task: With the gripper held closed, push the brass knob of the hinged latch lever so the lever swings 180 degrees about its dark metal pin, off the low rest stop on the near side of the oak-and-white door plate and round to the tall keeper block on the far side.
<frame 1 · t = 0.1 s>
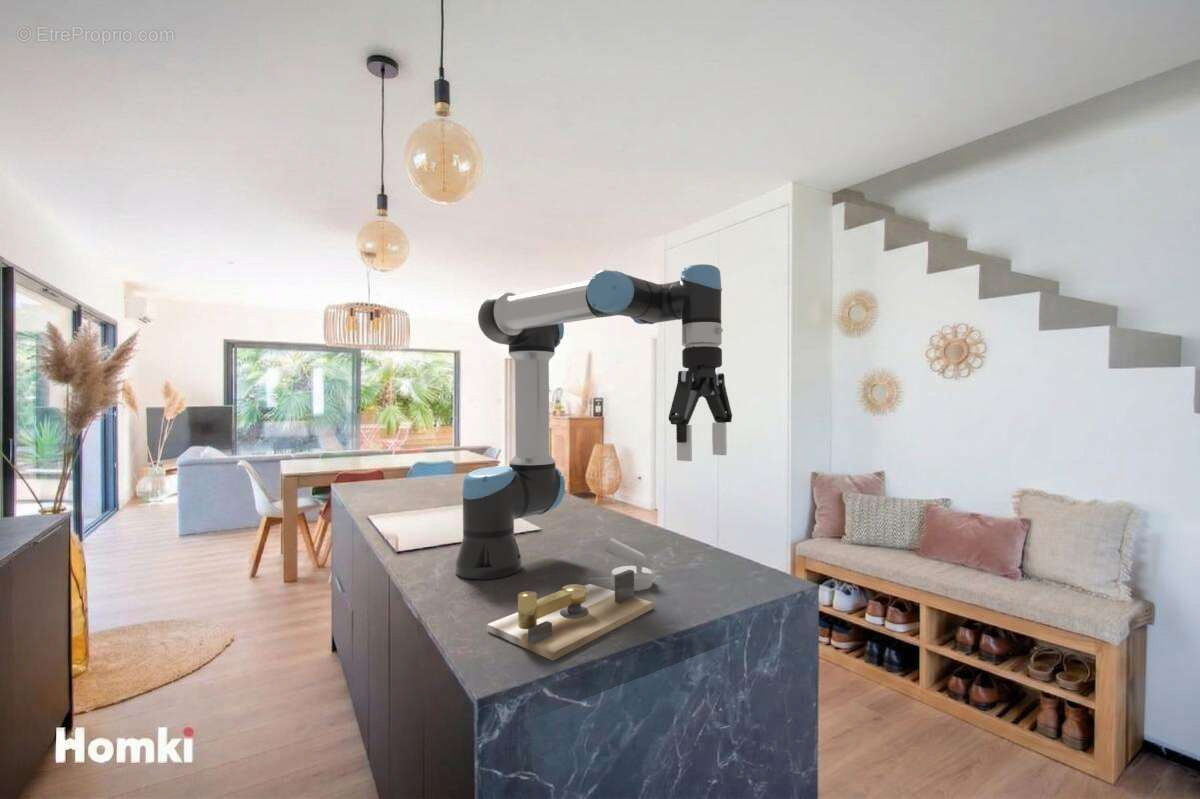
hand: (702, 457, 101), 28 cm above the table, fingers open, 13 cm apart
door plate: (574, 619, 94), on the table
latch lever: (553, 599, 90), point 5 cm above the table, hinge at 0.0°
wall hook: (628, 584, 112), on the table
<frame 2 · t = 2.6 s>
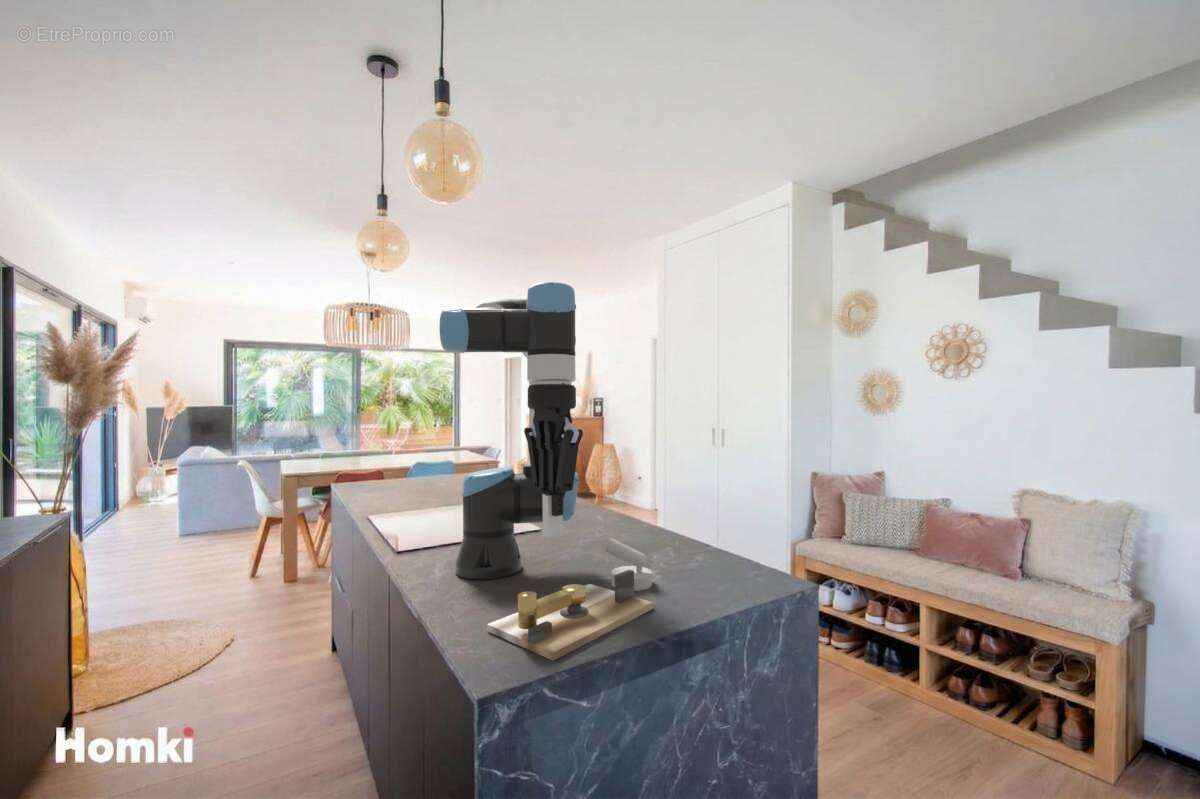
hand: (552, 535, 81), 18 cm above the table, fingers closed
nothing on the table moved.
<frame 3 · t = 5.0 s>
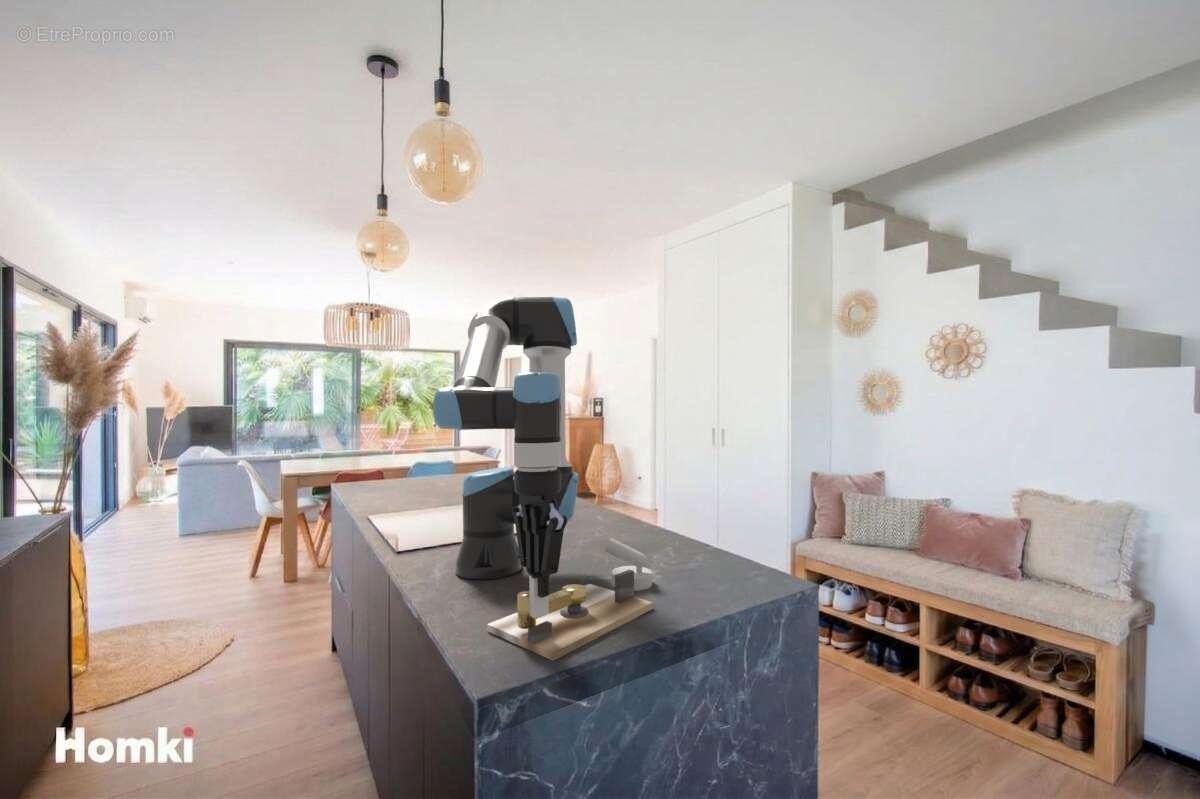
hand: (539, 614, 84), 5 cm above the table, fingers closed
latch lever: (552, 599, 90), point 5 cm above the table, hinge at 0.9°, touching gripper
everything else where it was.
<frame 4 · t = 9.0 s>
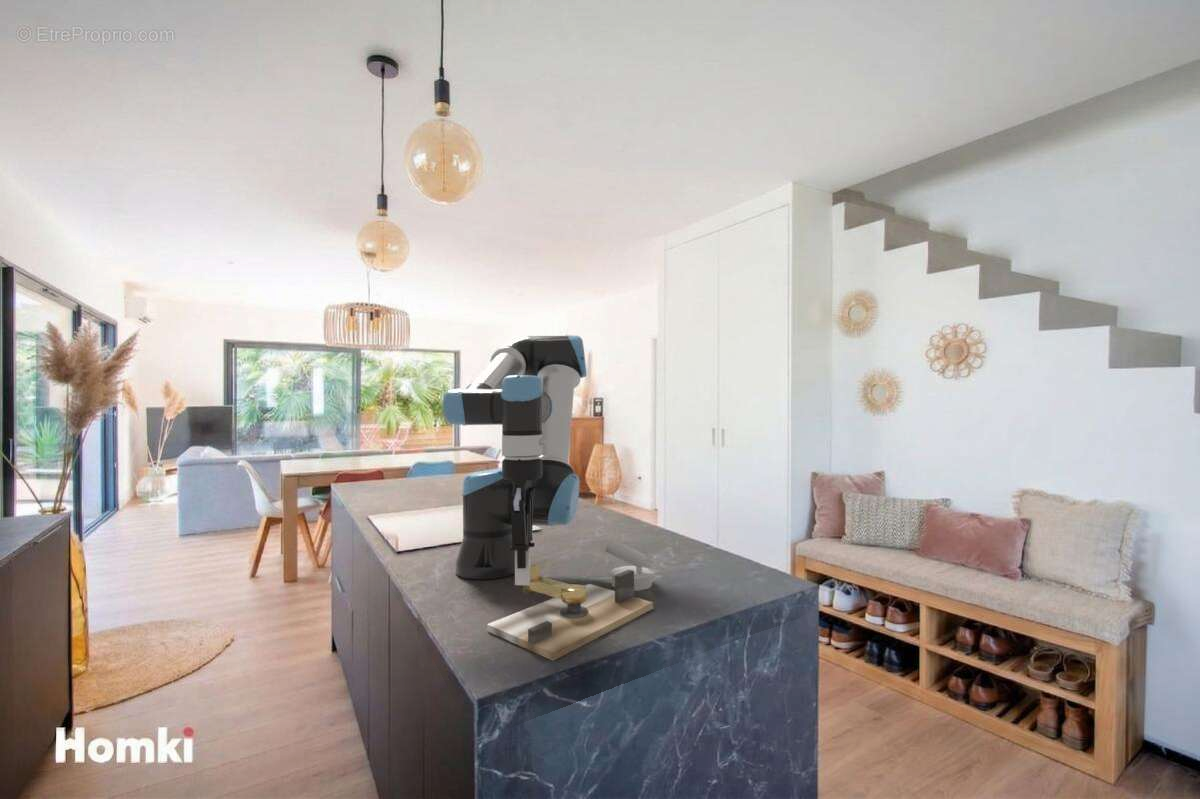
hand: (522, 583, 98), 5 cm above the table, fingers closed
latch lever: (553, 585, 97), point 5 cm above the table, hinge at 87.9°, touching gripper
everything else where it was.
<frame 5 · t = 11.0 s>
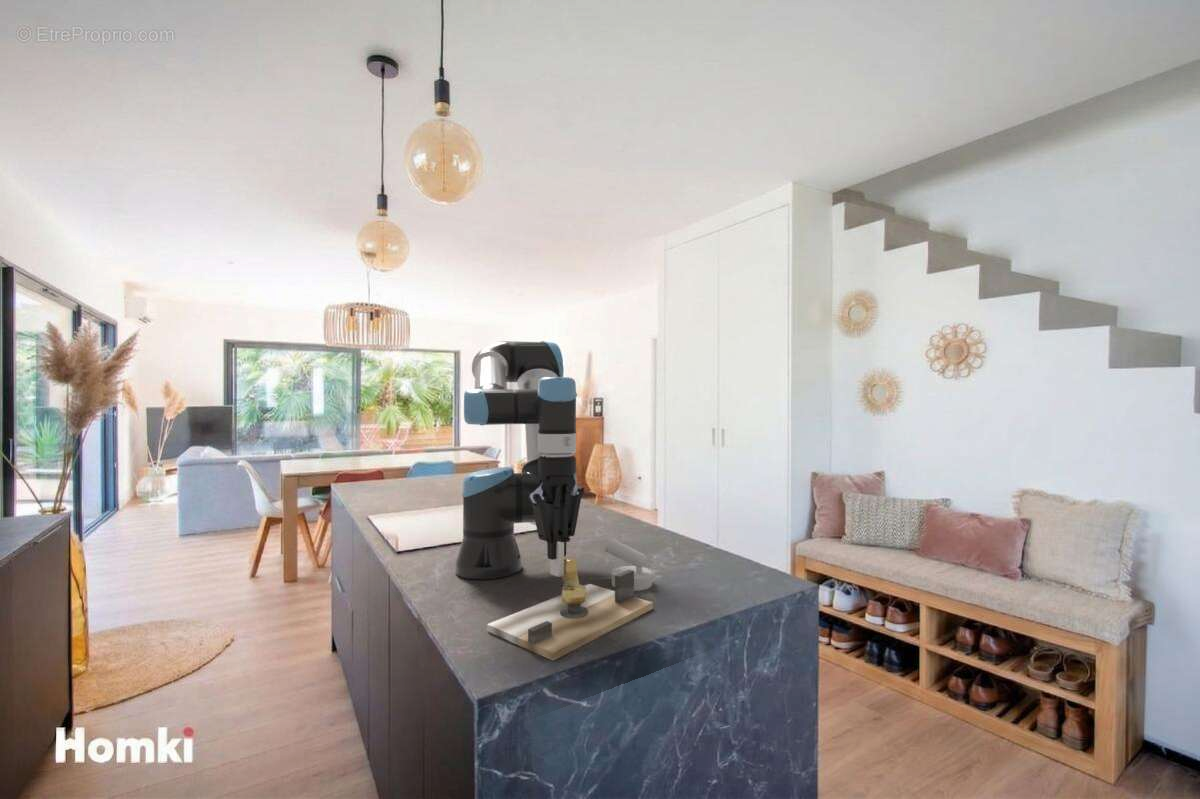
hand: (556, 574, 104), 5 cm above the table, fingers closed
latch lever: (571, 581, 99), point 5 cm above the table, hinge at 132.2°, touching gripper
everything else where it was.
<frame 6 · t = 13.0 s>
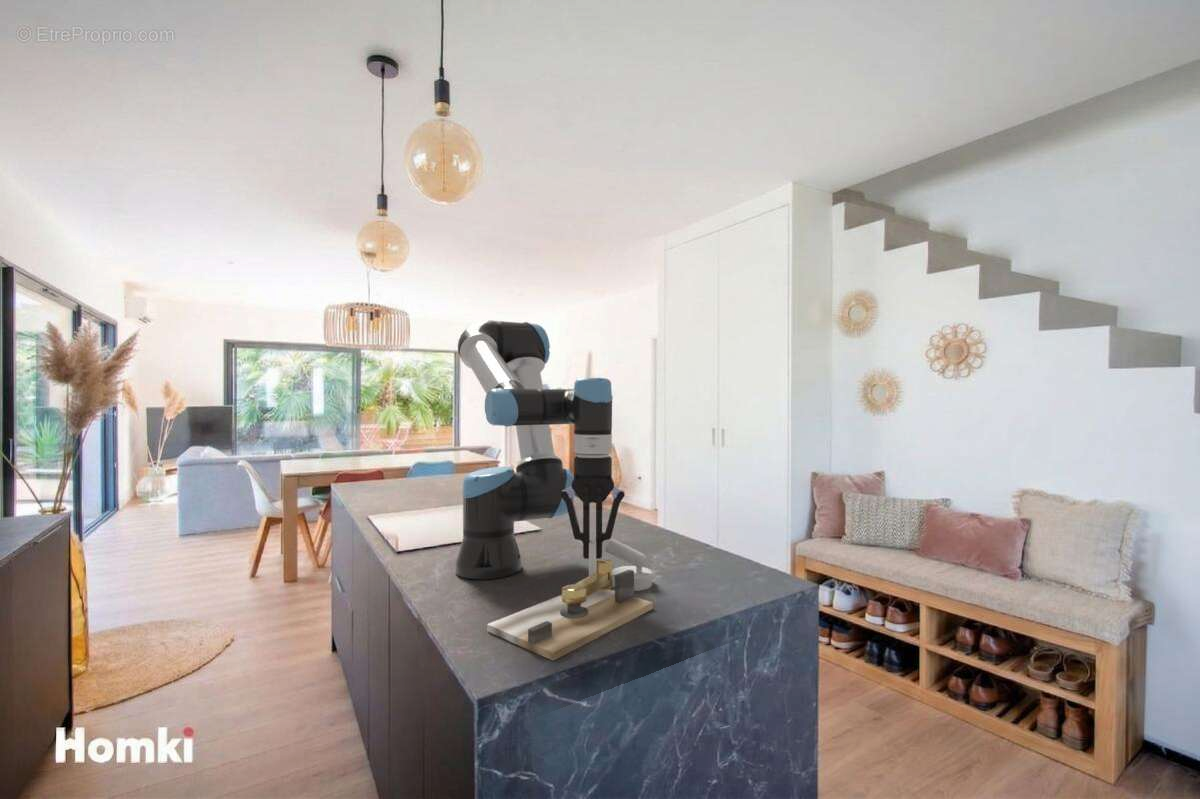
hand: (592, 574, 104), 5 cm above the table, fingers closed
latch lever: (589, 582, 98), point 5 cm above the table, hinge at 169.8°, touching gripper
everything else where it was.
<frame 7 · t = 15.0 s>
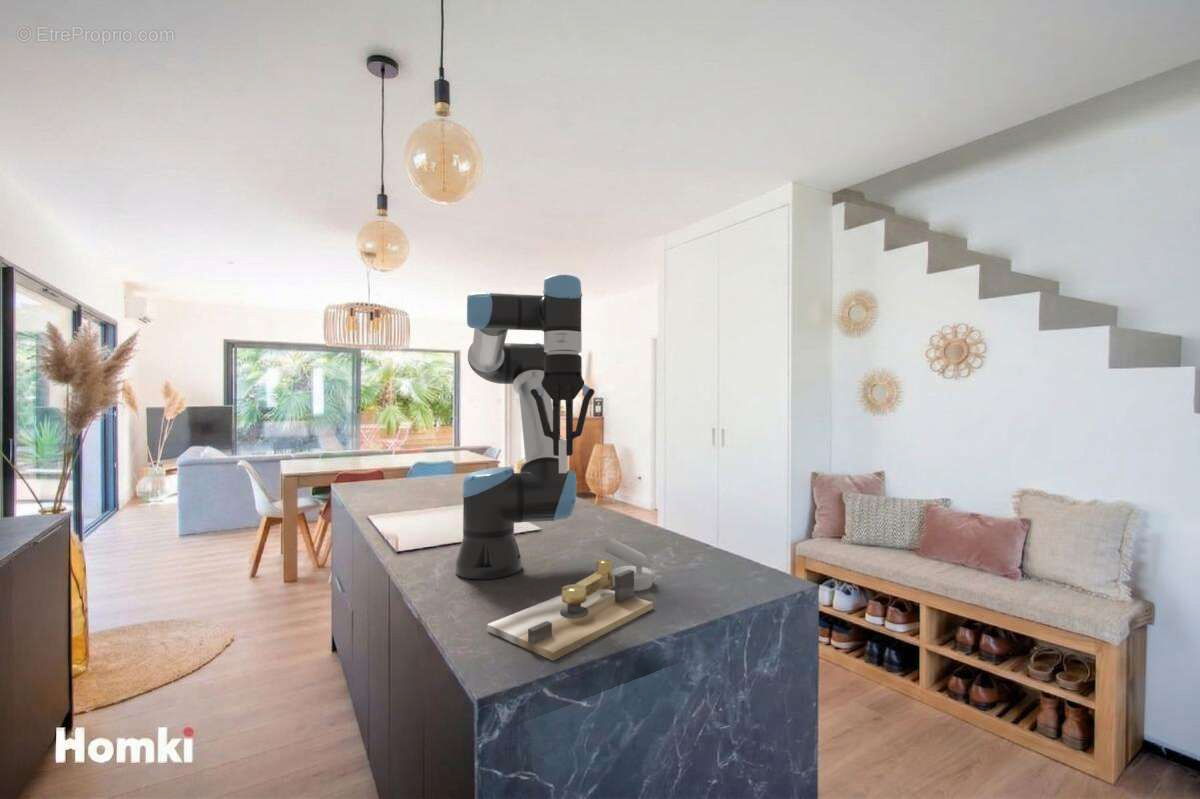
hand: (563, 472, 105), 25 cm above the table, fingers closed
latch lever: (589, 582, 98), point 5 cm above the table, hinge at 169.9°
everything else where it was.
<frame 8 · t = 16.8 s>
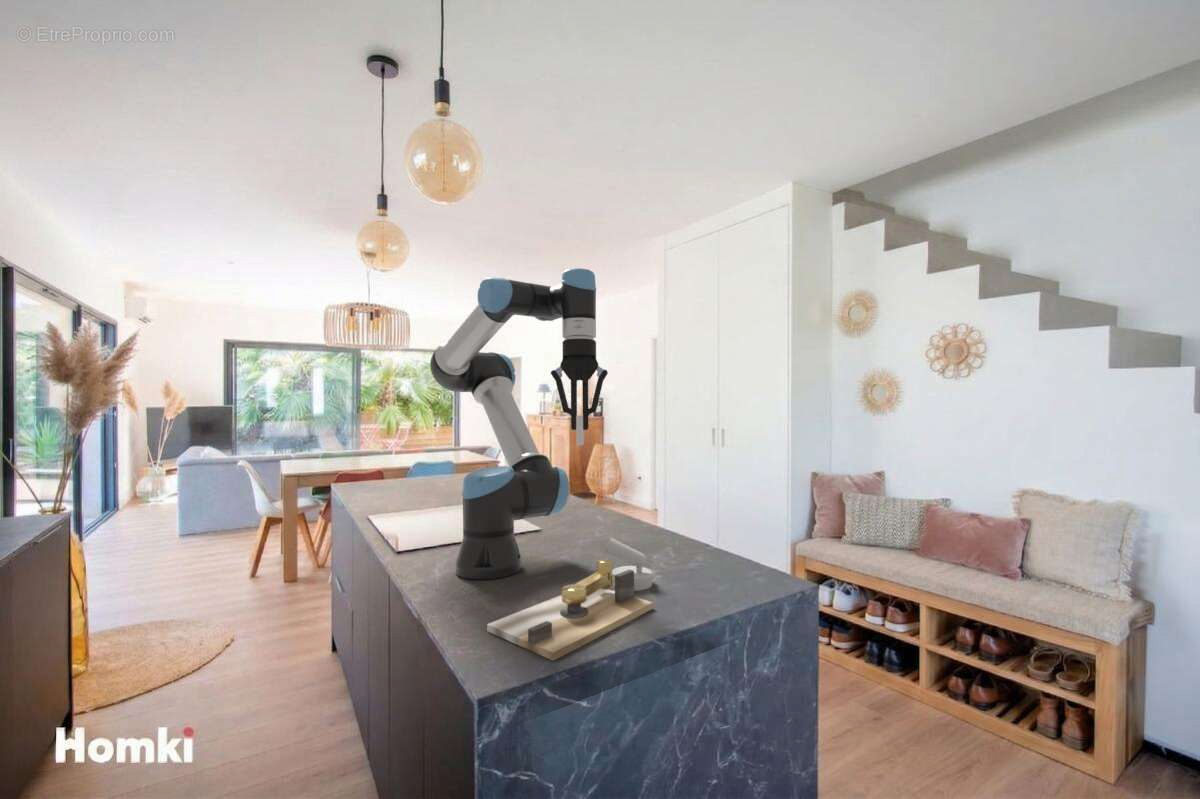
hand: (580, 444, 117), 29 cm above the table, fingers closed
nothing on the table moved.
at the end: latch lever at +170° (first picture: +0°); latch lever touching nothing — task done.
